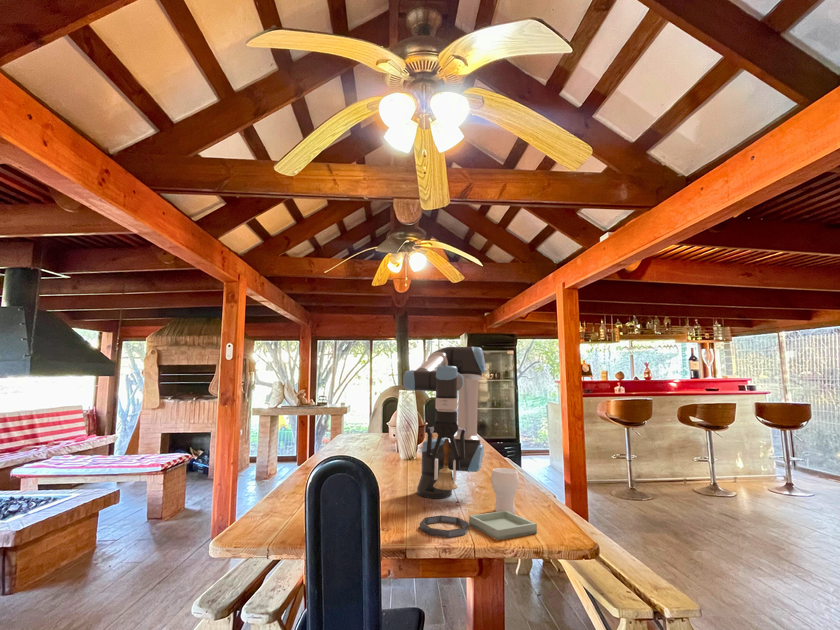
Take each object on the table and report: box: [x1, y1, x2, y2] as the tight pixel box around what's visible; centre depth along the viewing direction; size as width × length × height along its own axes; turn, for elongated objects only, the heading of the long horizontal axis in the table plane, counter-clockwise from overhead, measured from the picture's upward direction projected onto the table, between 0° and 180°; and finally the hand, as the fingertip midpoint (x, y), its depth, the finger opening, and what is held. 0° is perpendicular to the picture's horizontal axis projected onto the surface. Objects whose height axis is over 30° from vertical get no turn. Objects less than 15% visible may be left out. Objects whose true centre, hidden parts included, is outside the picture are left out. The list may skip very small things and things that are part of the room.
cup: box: [490, 467, 520, 514], centre depth 171 cm, size 11×11×15 cm
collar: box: [419, 515, 470, 538], centre depth 149 cm, size 15×15×2 cm
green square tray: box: [468, 510, 538, 541], centre depth 150 cm, size 16×16×3 cm
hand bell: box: [433, 438, 458, 491], centre depth 152 cm, size 8×8×16 cm
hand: (445, 479), depth 151 cm, fingers closed on hand bell, 6 cm apart
